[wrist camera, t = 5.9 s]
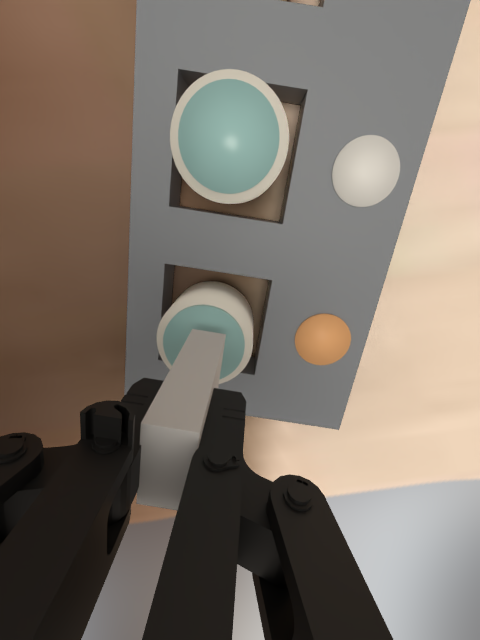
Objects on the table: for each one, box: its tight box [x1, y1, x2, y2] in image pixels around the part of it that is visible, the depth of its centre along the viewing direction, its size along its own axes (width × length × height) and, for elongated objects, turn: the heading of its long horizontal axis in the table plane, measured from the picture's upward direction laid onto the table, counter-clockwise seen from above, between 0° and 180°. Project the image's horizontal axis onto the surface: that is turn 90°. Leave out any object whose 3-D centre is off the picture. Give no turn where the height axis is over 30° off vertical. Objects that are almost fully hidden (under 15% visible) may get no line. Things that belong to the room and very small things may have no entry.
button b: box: [170, 69, 289, 204], centre depth 15 cm, size 5×5×4 cm
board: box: [124, 0, 471, 430], centre depth 17 cm, size 14×30×3 cm, turn 172°
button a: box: [157, 281, 253, 384], centre depth 18 cm, size 5×5×4 cm
